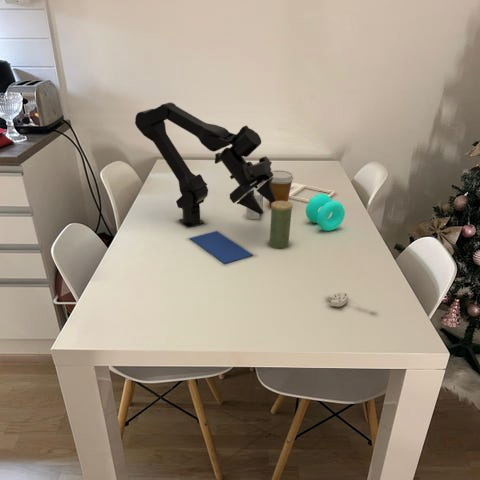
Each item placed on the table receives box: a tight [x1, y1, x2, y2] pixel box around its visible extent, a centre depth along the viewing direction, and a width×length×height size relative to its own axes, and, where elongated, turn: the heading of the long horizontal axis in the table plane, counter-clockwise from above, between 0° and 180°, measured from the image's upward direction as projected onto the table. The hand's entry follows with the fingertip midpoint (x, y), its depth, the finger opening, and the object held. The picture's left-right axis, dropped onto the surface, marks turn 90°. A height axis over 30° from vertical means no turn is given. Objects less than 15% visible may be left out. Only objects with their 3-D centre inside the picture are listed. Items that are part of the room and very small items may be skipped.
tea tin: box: [268, 201, 293, 250], centre depth 149 cm, size 6×6×13 cm
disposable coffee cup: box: [268, 169, 294, 209], centre depth 175 cm, size 10×10×12 cm
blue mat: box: [189, 230, 254, 265], centre depth 150 cm, size 20×10×1 cm, turn 35°
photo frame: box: [288, 182, 336, 203], centre depth 189 cm, size 15×1×18 cm
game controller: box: [328, 291, 373, 312], centre depth 124 cm, size 6×12×3 cm, turn 77°
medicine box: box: [246, 187, 264, 221], centre depth 169 cm, size 8×4×9 cm, turn 168°
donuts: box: [305, 193, 346, 232], centre depth 162 cm, size 10×10×10 cm
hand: (268, 208), depth 148 cm, fingers open, 9 cm apart
